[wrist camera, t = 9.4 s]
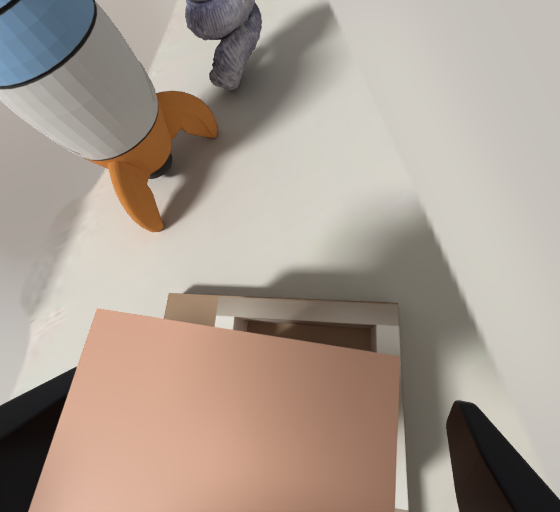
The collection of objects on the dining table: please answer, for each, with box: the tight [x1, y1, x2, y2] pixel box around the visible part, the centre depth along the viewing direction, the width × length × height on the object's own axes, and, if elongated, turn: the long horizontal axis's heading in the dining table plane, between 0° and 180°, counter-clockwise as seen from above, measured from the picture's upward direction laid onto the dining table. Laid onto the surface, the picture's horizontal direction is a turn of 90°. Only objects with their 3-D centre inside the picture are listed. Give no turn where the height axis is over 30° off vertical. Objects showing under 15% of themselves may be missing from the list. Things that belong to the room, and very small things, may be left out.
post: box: [28, 308, 400, 512], centre depth 10 cm, size 4×4×13 cm
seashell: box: [185, 0, 262, 91], centre depth 21 cm, size 5×5×10 cm
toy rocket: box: [0, 0, 218, 232], centre depth 17 cm, size 10×11×15 cm
